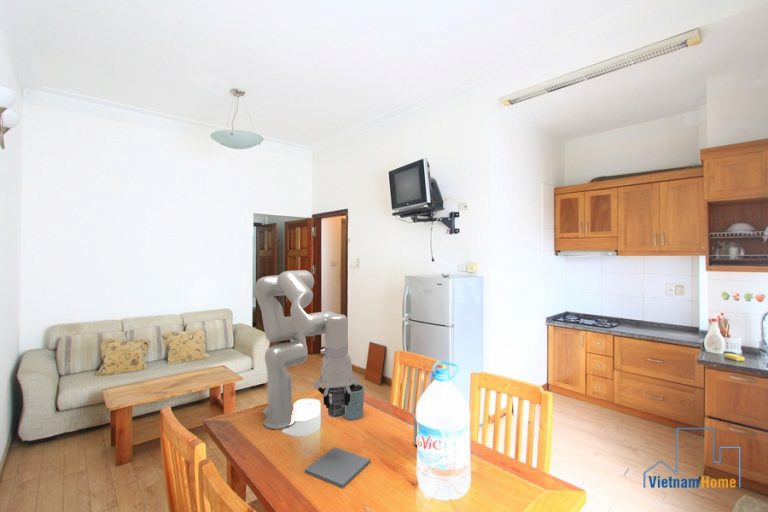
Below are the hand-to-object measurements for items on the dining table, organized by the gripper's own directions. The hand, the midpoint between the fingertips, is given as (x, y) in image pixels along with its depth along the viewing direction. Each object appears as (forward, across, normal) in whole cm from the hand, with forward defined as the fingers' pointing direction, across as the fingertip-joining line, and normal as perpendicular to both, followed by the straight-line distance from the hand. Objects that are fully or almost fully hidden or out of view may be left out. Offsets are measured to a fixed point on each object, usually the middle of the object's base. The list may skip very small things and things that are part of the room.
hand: (336, 404), depth 120 cm
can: (+19, +32, 0) cm, 37 cm away
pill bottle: (+3, 0, 0) cm, 3 cm away
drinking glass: (+18, +11, +30) cm, 37 cm away
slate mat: (+18, 0, -5) cm, 19 cm away
